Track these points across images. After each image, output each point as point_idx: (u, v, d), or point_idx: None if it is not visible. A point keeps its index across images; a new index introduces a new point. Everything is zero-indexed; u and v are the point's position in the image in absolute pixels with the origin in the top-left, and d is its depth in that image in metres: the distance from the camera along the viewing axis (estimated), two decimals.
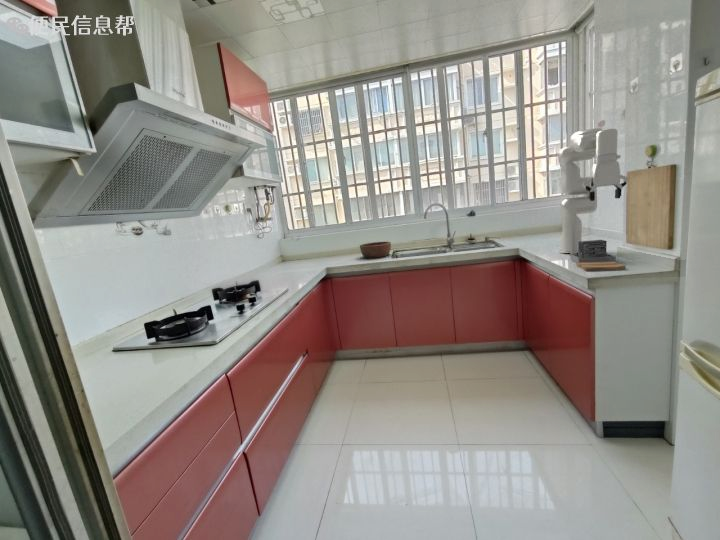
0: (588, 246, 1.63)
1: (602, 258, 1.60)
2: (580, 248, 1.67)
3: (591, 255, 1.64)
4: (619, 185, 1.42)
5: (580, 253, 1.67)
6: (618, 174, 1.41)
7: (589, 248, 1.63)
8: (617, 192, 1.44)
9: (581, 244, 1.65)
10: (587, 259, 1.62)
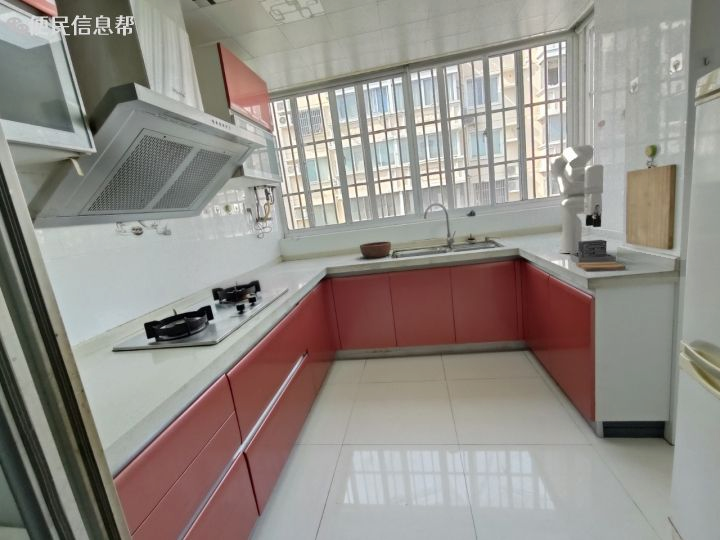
0: (588, 246, 1.63)
1: (602, 258, 1.60)
2: (580, 248, 1.67)
3: (591, 255, 1.64)
4: None
5: (580, 253, 1.67)
6: None
7: (589, 248, 1.63)
8: (591, 220, 1.67)
9: (581, 244, 1.65)
10: (587, 259, 1.62)
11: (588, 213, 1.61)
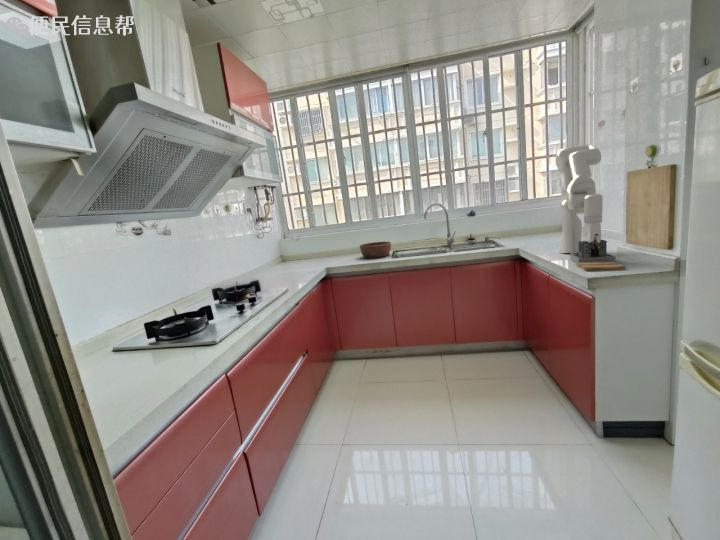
0: (588, 246, 1.63)
1: (602, 258, 1.60)
2: (580, 248, 1.67)
3: None
4: None
5: (580, 253, 1.67)
6: None
7: (589, 248, 1.63)
8: None
9: (581, 244, 1.65)
10: (587, 259, 1.62)
11: (587, 241, 1.63)
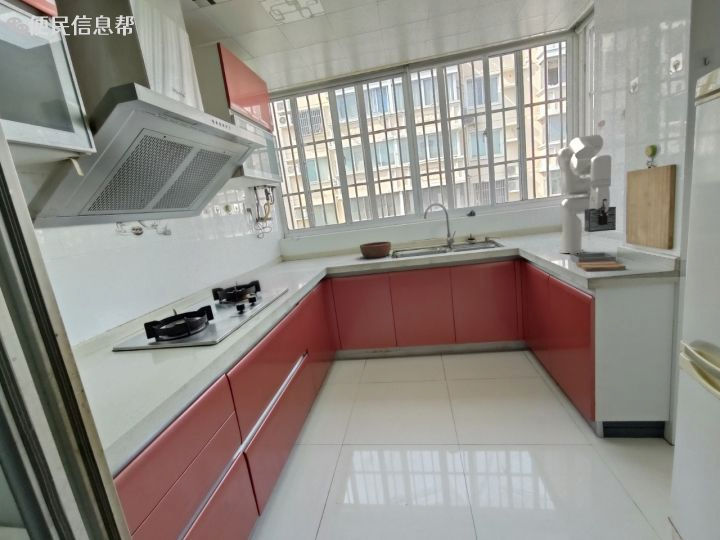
0: (596, 213, 1.48)
1: (602, 258, 1.60)
2: (586, 216, 1.52)
3: None
4: None
5: (586, 222, 1.52)
6: None
7: (596, 216, 1.48)
8: None
9: (588, 211, 1.50)
10: (587, 259, 1.62)
11: (594, 208, 1.48)
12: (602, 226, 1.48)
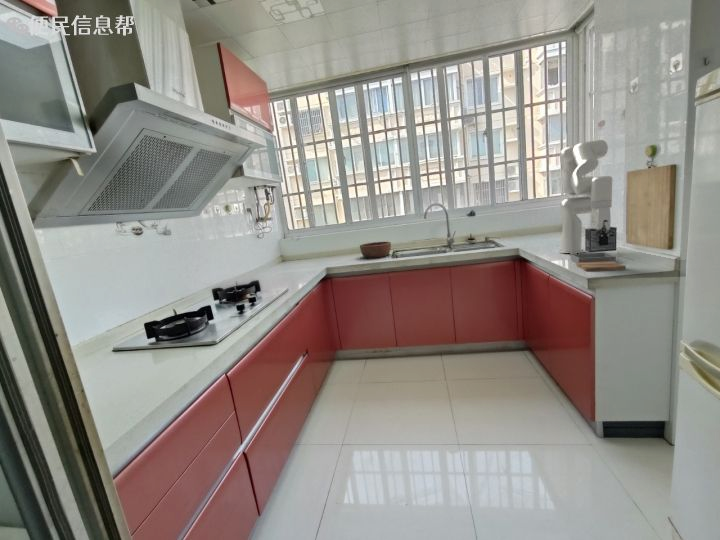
0: (596, 234, 1.48)
1: (602, 258, 1.60)
2: (587, 236, 1.51)
3: None
4: None
5: (587, 242, 1.52)
6: None
7: (597, 236, 1.48)
8: None
9: (588, 232, 1.50)
10: (587, 259, 1.62)
11: (595, 228, 1.48)
12: (602, 247, 1.48)
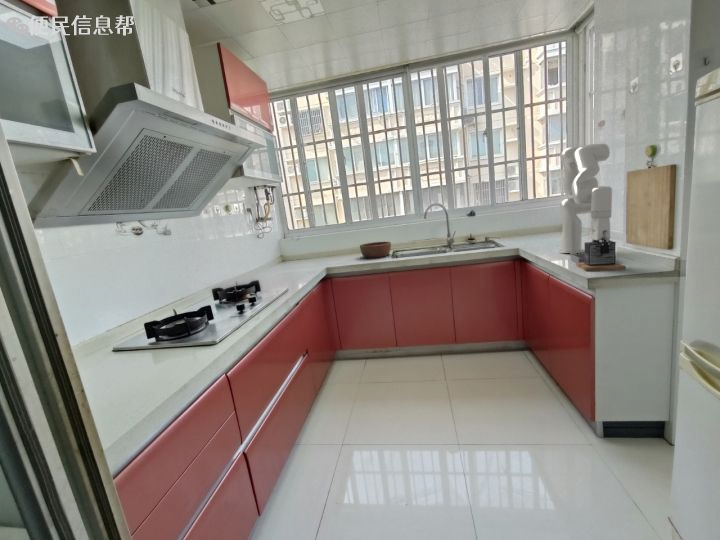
0: (595, 248, 1.49)
1: None
2: (586, 250, 1.53)
3: (598, 257, 1.50)
4: None
5: (586, 255, 1.54)
6: None
7: (596, 250, 1.50)
8: None
9: (587, 245, 1.51)
10: None
11: (595, 238, 1.49)
12: (601, 261, 1.50)
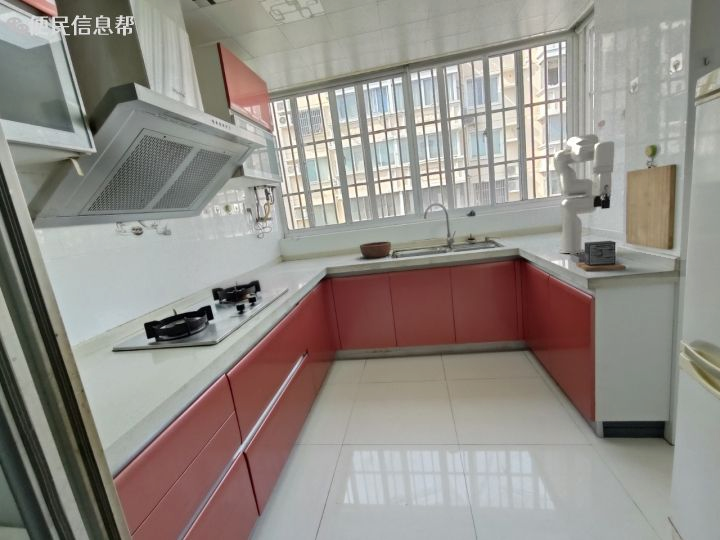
0: (595, 248, 1.49)
1: None
2: (586, 250, 1.53)
3: (598, 257, 1.50)
4: None
5: (586, 255, 1.54)
6: None
7: (596, 250, 1.50)
8: (599, 201, 1.58)
9: (587, 245, 1.51)
10: None
11: (596, 194, 1.52)
12: (601, 261, 1.50)
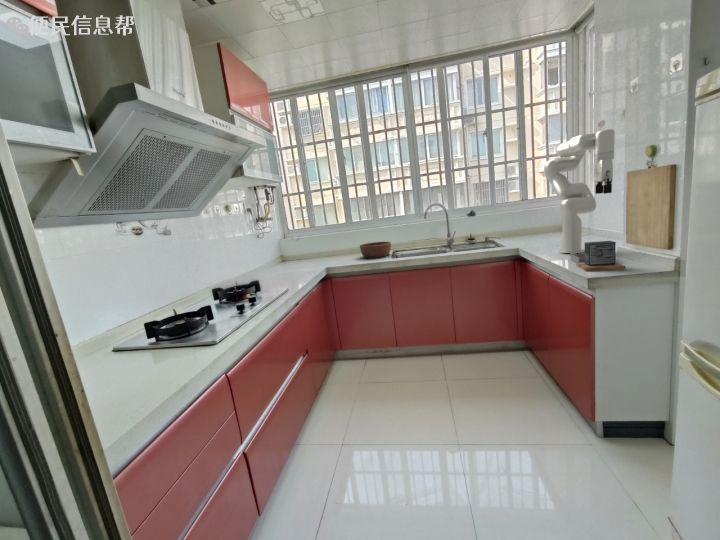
0: (595, 248, 1.49)
1: None
2: (586, 250, 1.53)
3: (598, 257, 1.50)
4: None
5: (586, 255, 1.54)
6: None
7: (596, 250, 1.50)
8: (601, 188, 1.65)
9: (587, 245, 1.51)
10: None
11: (598, 179, 1.59)
12: (601, 261, 1.50)
